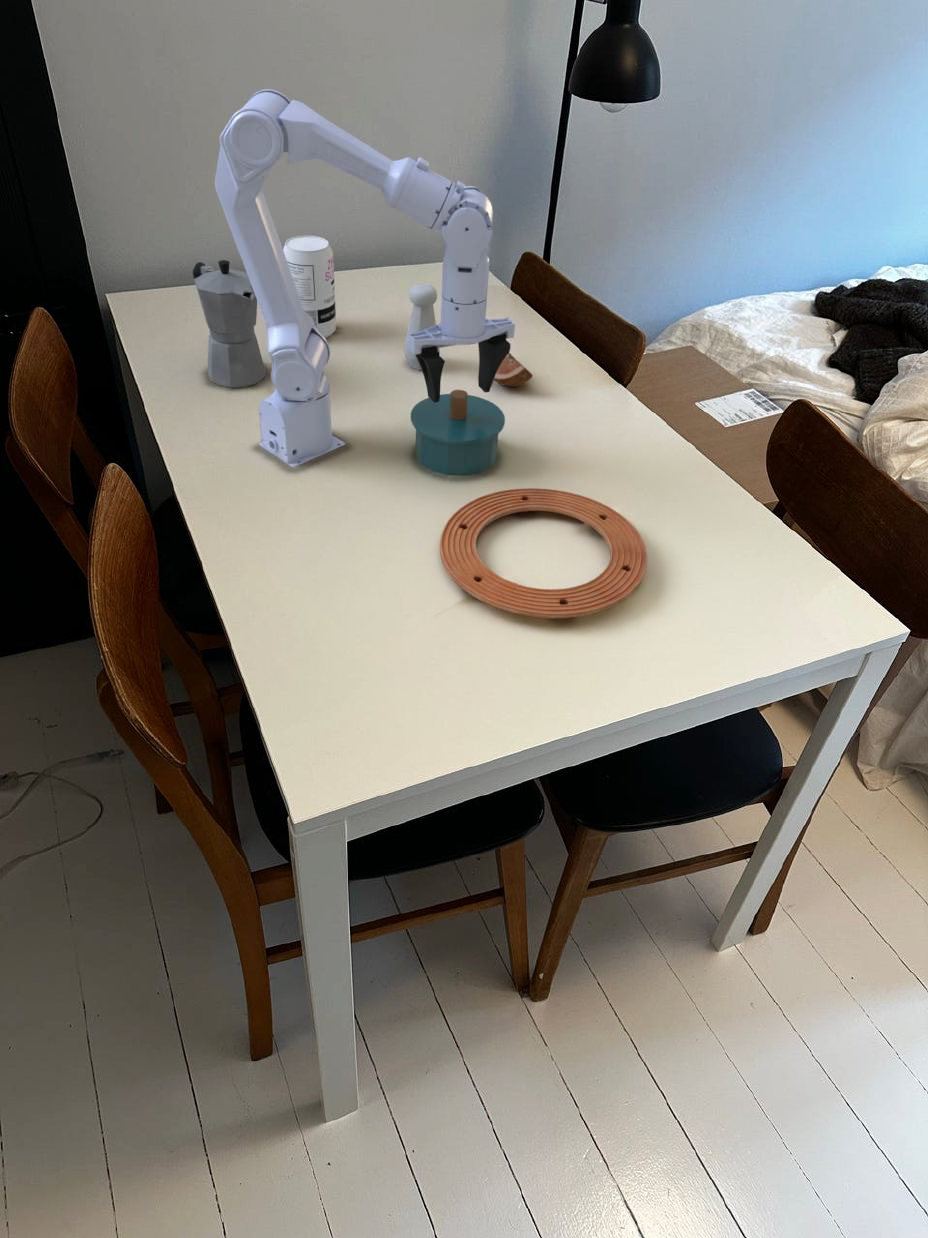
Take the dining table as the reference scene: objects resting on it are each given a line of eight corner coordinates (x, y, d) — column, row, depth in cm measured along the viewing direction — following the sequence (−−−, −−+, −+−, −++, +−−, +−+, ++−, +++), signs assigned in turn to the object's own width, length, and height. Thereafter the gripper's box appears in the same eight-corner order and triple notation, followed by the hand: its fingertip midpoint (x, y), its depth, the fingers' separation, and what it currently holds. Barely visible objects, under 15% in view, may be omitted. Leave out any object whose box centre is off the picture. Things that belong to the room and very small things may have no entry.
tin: (455, 488, 126) (457, 449, 122) (398, 454, 132) (399, 416, 128) (512, 459, 132) (516, 421, 129) (455, 428, 138) (457, 391, 134)
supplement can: (282, 325, 162) (274, 236, 152) (327, 318, 165) (323, 231, 155) (296, 344, 156) (289, 254, 146) (342, 337, 159) (339, 249, 149)
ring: (470, 643, 103) (472, 626, 101) (418, 513, 121) (418, 498, 120) (678, 612, 109) (682, 596, 107) (598, 492, 127) (601, 477, 125)
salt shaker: (423, 376, 150) (425, 297, 142) (396, 364, 153) (396, 286, 144) (445, 363, 154) (449, 286, 145) (419, 353, 156) (420, 276, 148)
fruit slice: (539, 392, 148) (542, 363, 145) (501, 399, 146) (504, 370, 142) (514, 369, 153) (517, 341, 150) (478, 376, 151) (480, 347, 148)
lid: (503, 451, 124) (505, 421, 121) (405, 443, 124) (406, 413, 121) (505, 404, 133) (508, 375, 130) (415, 397, 134) (415, 368, 131)
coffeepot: (286, 381, 146) (277, 267, 134) (235, 399, 141) (220, 282, 129) (231, 347, 154) (218, 236, 142) (181, 363, 149) (162, 249, 137)
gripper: (499, 276, 122) (492, 372, 131) (398, 290, 117) (397, 389, 126) (526, 296, 117) (516, 394, 126) (422, 312, 112) (419, 413, 121)
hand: (459, 393), depth 126 cm, fingers open, 7 cm apart
